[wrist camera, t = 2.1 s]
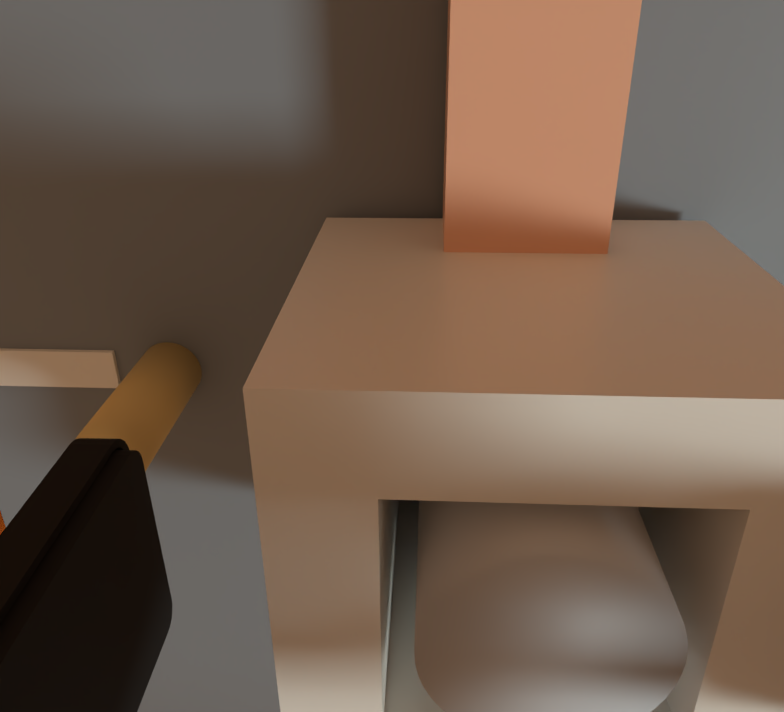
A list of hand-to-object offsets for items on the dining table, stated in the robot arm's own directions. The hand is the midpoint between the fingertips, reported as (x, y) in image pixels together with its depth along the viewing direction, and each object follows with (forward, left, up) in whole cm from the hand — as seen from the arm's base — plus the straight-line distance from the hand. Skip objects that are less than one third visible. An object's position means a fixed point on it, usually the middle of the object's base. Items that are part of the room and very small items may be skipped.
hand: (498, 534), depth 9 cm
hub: (+2, 0, -5) cm, 5 cm away
